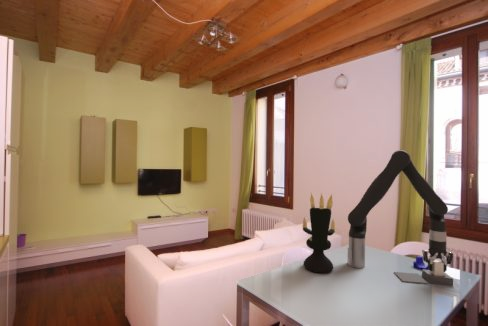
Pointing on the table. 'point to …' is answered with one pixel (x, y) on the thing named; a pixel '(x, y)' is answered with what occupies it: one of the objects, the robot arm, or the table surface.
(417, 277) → the mat
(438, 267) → the plug
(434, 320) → the table surface
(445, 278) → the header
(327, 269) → the candelabra
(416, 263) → the cable clip
